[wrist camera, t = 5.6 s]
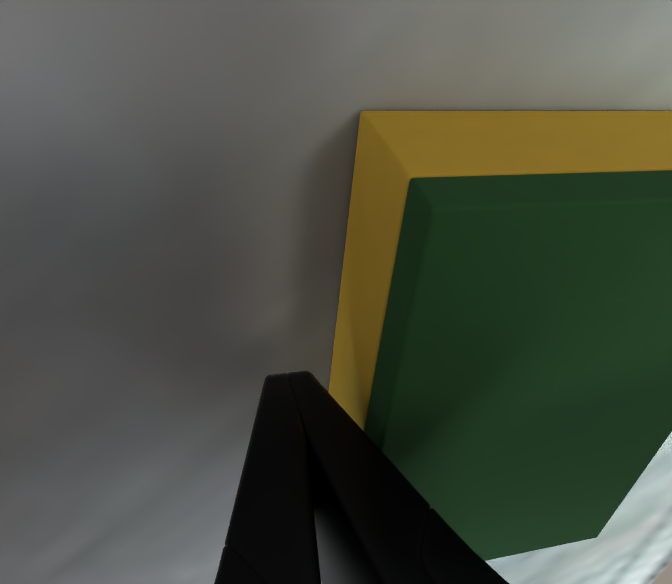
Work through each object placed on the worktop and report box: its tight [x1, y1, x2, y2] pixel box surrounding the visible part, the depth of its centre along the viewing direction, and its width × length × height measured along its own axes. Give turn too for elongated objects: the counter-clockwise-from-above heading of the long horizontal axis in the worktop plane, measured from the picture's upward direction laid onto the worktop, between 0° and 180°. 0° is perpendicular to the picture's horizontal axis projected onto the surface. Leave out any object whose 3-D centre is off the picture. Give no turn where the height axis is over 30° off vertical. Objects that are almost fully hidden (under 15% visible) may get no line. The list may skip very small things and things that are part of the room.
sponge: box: [328, 111, 672, 561], centre depth 11 cm, size 9×6×3 cm, turn 175°
